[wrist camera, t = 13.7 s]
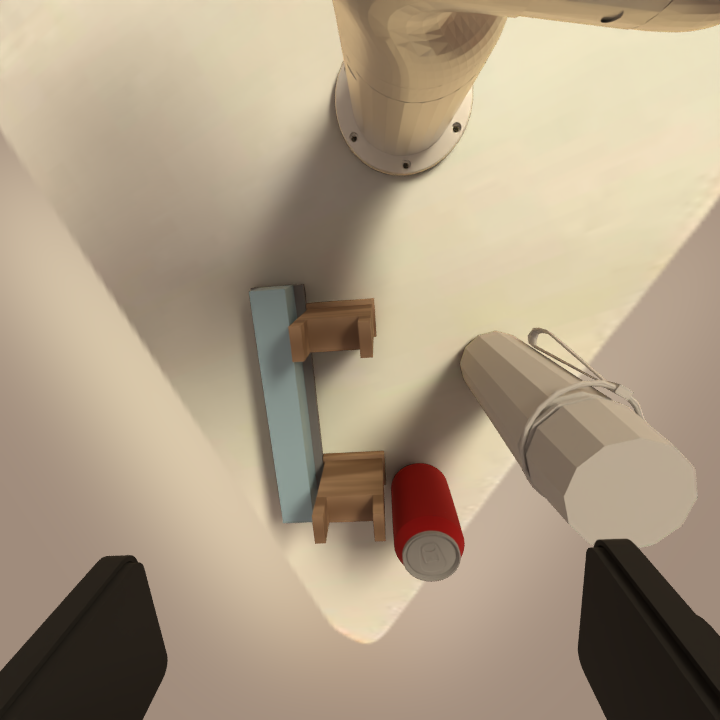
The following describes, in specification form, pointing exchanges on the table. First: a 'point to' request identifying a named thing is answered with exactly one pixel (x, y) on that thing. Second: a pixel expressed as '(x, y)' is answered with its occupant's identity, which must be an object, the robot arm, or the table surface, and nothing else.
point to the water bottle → (580, 442)
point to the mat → (310, 391)
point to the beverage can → (425, 523)
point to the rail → (285, 402)
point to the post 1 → (334, 328)
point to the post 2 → (351, 492)
